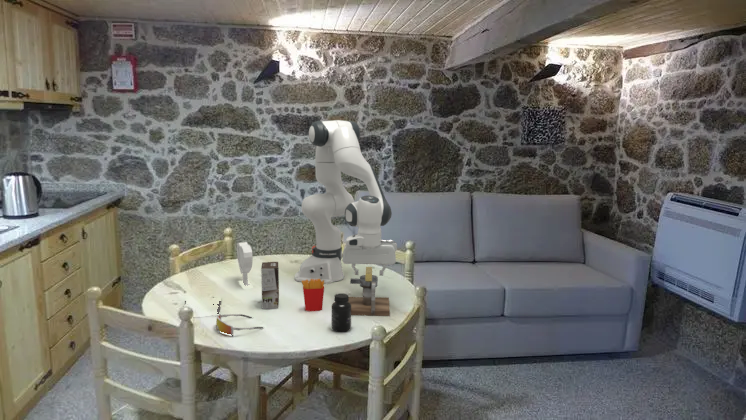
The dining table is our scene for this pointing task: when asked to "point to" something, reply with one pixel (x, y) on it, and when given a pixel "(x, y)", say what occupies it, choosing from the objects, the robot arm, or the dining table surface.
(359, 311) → the post stand
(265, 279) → the coffee box
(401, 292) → the dining table surface
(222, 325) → the sunglasses
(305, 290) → the french fries
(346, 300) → the supplement bottle
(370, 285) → the coupling
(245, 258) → the heart sculpture
